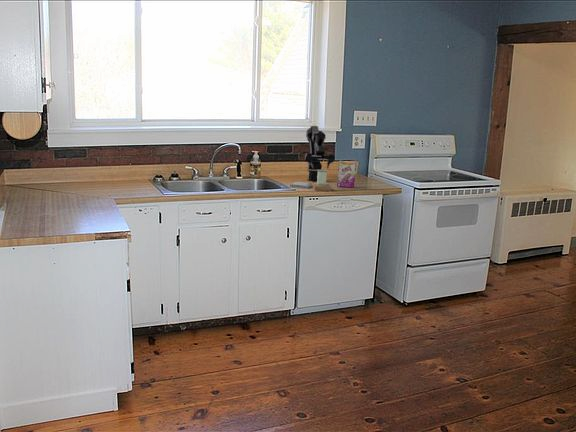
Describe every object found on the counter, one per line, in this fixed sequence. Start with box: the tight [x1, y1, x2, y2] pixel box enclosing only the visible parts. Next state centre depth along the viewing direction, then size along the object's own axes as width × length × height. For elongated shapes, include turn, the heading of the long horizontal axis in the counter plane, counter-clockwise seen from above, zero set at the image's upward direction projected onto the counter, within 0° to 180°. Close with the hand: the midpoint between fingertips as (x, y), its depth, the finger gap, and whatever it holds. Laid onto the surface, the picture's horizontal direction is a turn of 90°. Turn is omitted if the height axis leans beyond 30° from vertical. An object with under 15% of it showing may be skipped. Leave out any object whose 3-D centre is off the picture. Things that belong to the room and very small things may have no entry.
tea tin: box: [316, 169, 328, 185], centre depth 365 cm, size 4×5×9 cm
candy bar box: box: [336, 160, 357, 188], centre depth 378 cm, size 11×5×16 cm, turn 84°
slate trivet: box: [289, 181, 315, 189], centre depth 374 cm, size 12×12×2 cm
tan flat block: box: [312, 183, 332, 192], centre depth 365 cm, size 8×10×3 cm
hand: (320, 168), depth 369 cm, fingers open, 9 cm apart
